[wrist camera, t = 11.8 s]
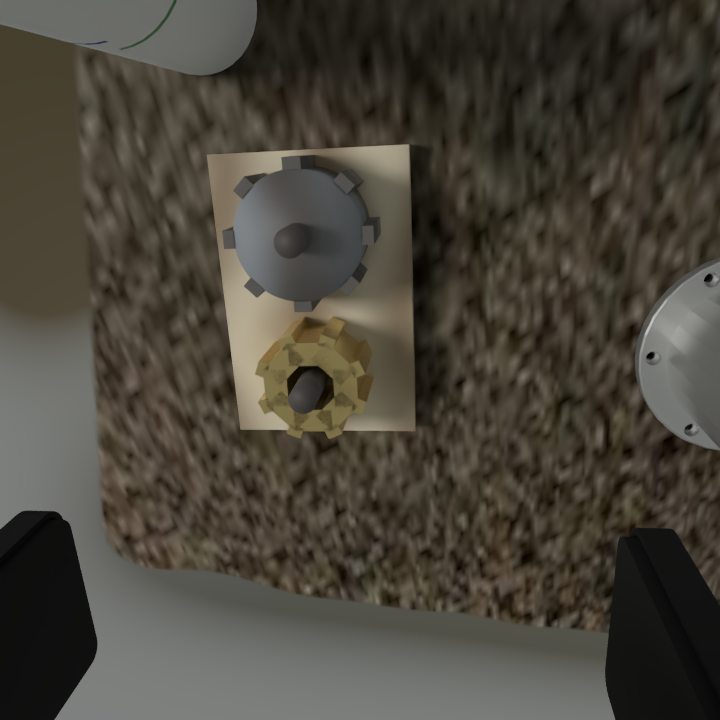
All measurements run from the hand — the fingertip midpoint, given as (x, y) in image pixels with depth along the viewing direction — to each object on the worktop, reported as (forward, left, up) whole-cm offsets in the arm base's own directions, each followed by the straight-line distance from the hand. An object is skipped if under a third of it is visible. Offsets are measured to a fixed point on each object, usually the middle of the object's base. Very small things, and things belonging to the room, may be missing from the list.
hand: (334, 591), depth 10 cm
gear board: (+6, +2, -30) cm, 31 cm away
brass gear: (+6, +6, -29) cm, 30 cm away
